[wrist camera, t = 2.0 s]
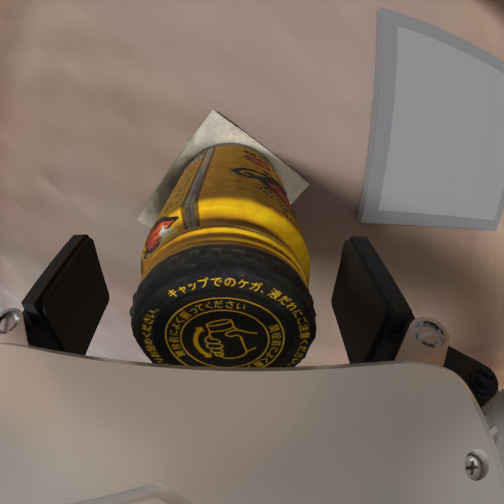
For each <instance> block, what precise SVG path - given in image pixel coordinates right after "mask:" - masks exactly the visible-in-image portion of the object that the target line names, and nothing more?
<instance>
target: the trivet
mask: <svg viewBox="0 0 504 504" xmlns="http://www.w3.org/2000/svg"><path fill="white" fill-rule="evenodd" d="M503 207H504V62H503V61H501V60H499V59H498V58H496V57H494V56H493V55H491V54H489V53H487V52H486V51H484V50H482V49H480V48H478V47H477V46H475V45H473V44H471V43H469V42H467V41H465V40H463V39H461V38H459V37H457V36H455V35H453V34H450V33H448V32H446V31H444V30H441V29H439V28H437V27H434V26H432V25H429V24H427V23H424V22H422V21H419V20H417V19H414V18H411V17H408V16H405V15H402V14H399V13H396V12H393V11H390V10H387V9H384V8H382V9H379V10H377V46H376V70H375V86H374V99H373V110H372V120H371V129H370V138H369V146H368V154H367V161H366V168H365V175H364V181H363V187H362V193H361V199H360V205H359V211H358V216H357V218H358V219H359V221H360V222H361V223H375V224H398V225H418V226H436V227H452V228H467V229H481V230H493V231H496V229H497V226H498V223H499V220H500V217H501V214H502V211H503Z"/></svg>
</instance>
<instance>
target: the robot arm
mask: <svg viewBox="0 0 504 504" xmlns="http://www.w3.org/2000/svg"><path fill="white" fill-rule="evenodd" d="M108 302H109V292H108V289H107V286H106V283H105V280H104V277H103V273H102V270H101V267H100V263H99V260H98V256H97V252H96V249H95V245H94V241H93V240H92V239H91V238H90V237H89V236H88V235H73V236H72V237H71V239H70V240H69V241H68V242H67V243H66V244H65V246H64V247H63V248H62V249H61V251H60V252H59V253H58V254H57V255H56V257H55V258H54V259H53V260H52V262H51V263H50V264H49V266H48V267H47V268H46V269H45V271H44V272H43V273H42V275H41V276H40V277H39V279H38V280H37V281H36V283H35V284H34V285H33V287H32V288H31V290H30V291H29V292H28V294H27V295H26V297H25V298H24V300H23V301H22V302H21V303H22V305H23V307H24V311H23V312H22V311H21V310H20V309H17V308H9V309H6V310H4V311H3V312H1V313H0V504H504V389H502V390H501V391H499V390H498V381H497V378H496V376H495V374H494V373H493V371H492V370H491V369H490V368H488V367H487V366H485V365H483V364H481V363H480V362H478V361H476V360H474V359H472V358H470V357H468V356H467V355H465V354H463V353H461V352H459V351H457V350H455V349H454V348H452V347H450V346H448V345H449V335H448V332H447V331H446V329H445V328H444V327H443V326H442V325H441V324H440V323H439V322H437V321H435V320H433V319H430V318H425V317H421V318H416V319H415V317H414V315H413V313H412V310H411V309H410V307H409V305H408V303H407V302H406V300H405V298H404V296H403V295H402V293H401V291H400V290H399V288H398V286H397V284H396V283H395V281H394V279H393V278H392V276H391V275H390V273H389V271H388V270H387V268H386V266H385V265H384V263H383V262H382V260H381V258H380V257H379V255H378V254H377V252H376V251H375V249H374V248H373V246H372V244H371V243H370V241H369V240H368V238H367V237H357V236H351V237H350V239H349V240H346V241H345V243H344V247H343V252H342V256H341V261H340V265H339V270H338V274H337V278H336V283H335V287H334V291H333V295H332V307H333V310H334V313H335V317H336V320H337V323H338V326H339V329H340V332H341V336H342V339H343V342H344V345H345V349H346V352H347V355H348V359H349V362H350V364H340V365H323V366H303V367H274V368H230V367H199V366H180V365H166V364H154V363H143V362H133V361H124V360H116V359H108V358H101V357H94V356H87V355H85V354H86V352H87V349H88V347H89V345H90V342H91V340H92V338H93V335H94V333H95V331H96V328H97V326H98V324H99V322H100V319H101V317H102V315H103V313H104V311H105V309H106V306H107V304H108Z"/></svg>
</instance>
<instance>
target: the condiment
mask: <svg viewBox="0 0 504 504" xmlns="http://www.w3.org/2000/svg"><path fill="white" fill-rule="evenodd" d="M309 185H310V184H309V183H308V182H307V181H305V180H304V179H303V178H302V177H301V176H299V175H298V174H297V173H296V172H295V171H293V170H292V169H291V168H290V167H288V166H287V165H286V164H285V163H284V162H282V161H281V160H280V159H279V158H277V157H276V156H275V155H274V154H272V153H271V152H270V151H268V150H267V149H266V148H265V147H263V146H262V145H261V144H259V143H258V142H257V141H255V140H254V139H253V138H251V137H250V136H249V135H247V134H246V133H245V132H243V131H242V130H240V129H239V128H238V127H236V126H235V125H233V124H232V123H231V122H229V121H228V120H226V119H225V118H224V117H222V116H221V115H219V114H218V113H217V112H215V111H214V110H213V111H212V112H211V113H210V114H209V116H208V117H207V118H206V120H205V121H204V122H203V124H202V125H201V126H200V128H199V129H198V130H197V132H196V133H195V134H194V136H193V137H192V138H191V140H190V141H189V142H188V144H187V145H186V147H185V148H184V149H183V151H182V152H181V154H180V155H179V157H178V158H177V159H176V161H175V162H174V164H173V165H172V167H171V168H170V169H169V171H168V173H167V174H166V176H165V177H164V179H163V180H162V182H161V183H160V185H159V186H158V188H157V189H156V191H155V192H154V194H153V195H152V197H151V199H150V200H149V202H148V203H147V205H146V207H145V208H144V210H143V211H142V213H141V215H140V216H139V218H138V220H137V221H139V222H140V223H142V224H144V225H145V226H147V227H150V228H151V230H150V233H149V234H148V237H147V239H146V241H145V244H144V248H143V251H142V258H141V273H142V277H141V283H140V285H139V287H138V290H137V291H136V293H135V294H134V295H133V306H132V307H131V309H130V316H131V317H132V318H131V326H132V331H133V336H134V337H135V339H136V341H137V343H138V344H139V346H140V347H141V349H142V350H143V352H144V353H145V355H146V356H147V357H148V358H149V359H150V360H151V361H152V363H154V364H166V365H180V366H199V367H230V368H274V367H295V366H296V365H297V364H298V363H300V361H301V360H302V359H304V358H305V356H306V354H307V351H308V349H309V347H310V345H311V343H312V342H313V340H314V339H315V335H316V322H315V317H316V313H315V310H314V307H313V305H314V302H313V299H312V296H311V295H310V293H309V286H308V285H309V277H310V258H309V251H308V248H307V244H306V242H305V239H304V237H303V234H302V232H301V230H300V226H299V224H298V222H297V220H296V217H295V215H294V213H293V210H292V207H291V204H292V203H293V202H294V201H295V200H296V199H297V197H298V196H299V195H300V194H301V193H302V192H303V191H304V190H305V189H306V188H307V187H308V186H309Z"/></svg>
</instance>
